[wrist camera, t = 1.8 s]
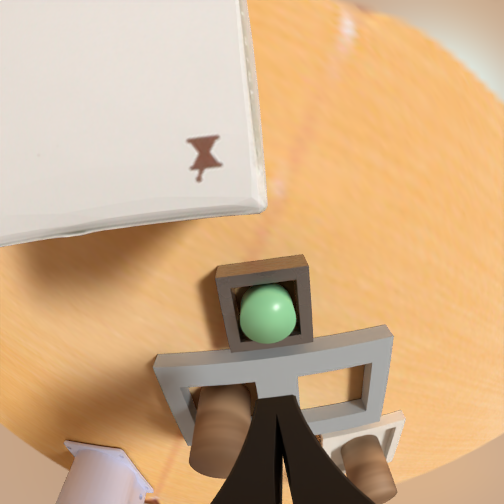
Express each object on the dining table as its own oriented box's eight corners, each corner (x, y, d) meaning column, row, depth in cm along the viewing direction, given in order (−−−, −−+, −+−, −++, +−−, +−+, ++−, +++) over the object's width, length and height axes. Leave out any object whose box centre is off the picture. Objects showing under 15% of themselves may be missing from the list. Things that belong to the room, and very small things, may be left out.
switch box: (308, 326, 20) (313, 342, 18) (232, 336, 20) (230, 352, 18) (303, 254, 18) (308, 265, 16) (218, 265, 18) (214, 278, 17)
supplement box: (245, 43, 14) (240, -122, 2) (256, 171, 17) (277, 230, 5) (118, 65, 14) (-41, -7, 2) (128, 186, 17) (-42, 263, 5)
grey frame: (374, 409, 23) (379, 421, 21) (190, 432, 23) (187, 445, 22) (385, 324, 20) (393, 336, 18) (157, 354, 20) (152, 367, 19)
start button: (294, 323, 19) (297, 339, 17) (244, 329, 19) (244, 346, 17) (289, 278, 18) (293, 292, 16) (236, 285, 18) (235, 300, 16)
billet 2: (375, 451, 25) (392, 501, 18) (339, 460, 25) (351, 512, 19) (380, 430, 23) (401, 484, 17) (341, 439, 23) (356, 497, 17)
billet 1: (253, 409, 22) (255, 477, 16) (206, 413, 22) (198, 478, 16) (246, 375, 21) (246, 447, 15) (194, 379, 21) (181, 449, 15)
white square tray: (388, 453, 25) (391, 461, 24) (319, 469, 26) (321, 478, 25) (401, 410, 23) (405, 418, 22) (320, 429, 23) (322, 439, 22)
